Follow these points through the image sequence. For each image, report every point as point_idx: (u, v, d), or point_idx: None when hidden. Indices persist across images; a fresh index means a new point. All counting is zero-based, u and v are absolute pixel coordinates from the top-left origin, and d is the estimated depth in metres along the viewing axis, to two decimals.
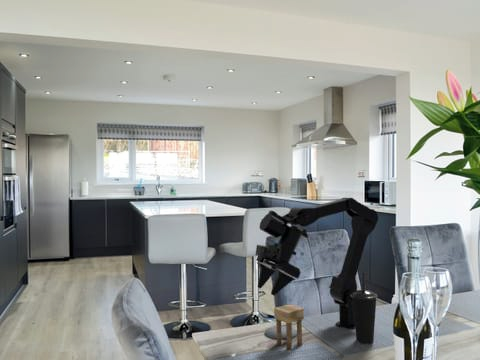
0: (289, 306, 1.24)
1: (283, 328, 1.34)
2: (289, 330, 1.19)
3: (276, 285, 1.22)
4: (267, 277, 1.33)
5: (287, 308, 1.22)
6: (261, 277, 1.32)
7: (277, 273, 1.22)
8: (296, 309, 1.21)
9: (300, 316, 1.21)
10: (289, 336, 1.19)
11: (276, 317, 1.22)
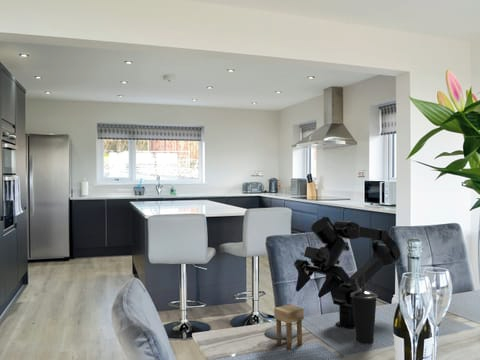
0: (289, 306, 1.24)
1: (283, 328, 1.34)
2: (289, 330, 1.19)
3: (325, 287, 1.24)
4: (304, 282, 1.34)
5: (287, 308, 1.22)
6: (300, 281, 1.32)
7: (328, 276, 1.24)
8: (296, 309, 1.21)
9: (300, 316, 1.21)
10: (289, 336, 1.19)
11: (276, 317, 1.22)
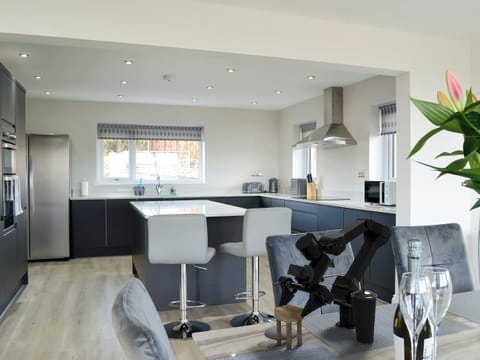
0: (289, 306, 1.24)
1: (283, 328, 1.34)
2: (289, 330, 1.19)
3: (308, 307, 1.19)
4: (288, 300, 1.29)
5: (287, 308, 1.22)
6: (283, 299, 1.28)
7: (311, 295, 1.20)
8: (296, 309, 1.21)
9: (300, 316, 1.21)
10: (289, 336, 1.19)
11: (276, 317, 1.22)
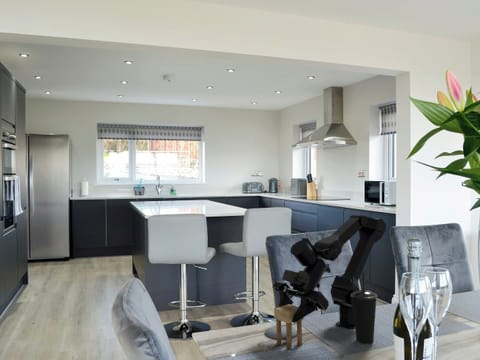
0: (289, 306, 1.24)
1: (283, 328, 1.34)
2: (289, 330, 1.19)
3: (299, 312, 1.19)
4: None
5: (287, 308, 1.22)
6: None
7: (303, 300, 1.20)
8: (296, 309, 1.21)
9: None
10: (289, 336, 1.19)
11: (276, 317, 1.22)
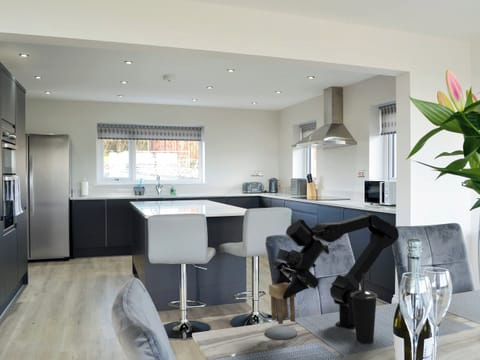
0: (284, 284, 1.30)
1: (283, 328, 1.34)
2: (280, 306, 1.25)
3: (289, 289, 1.25)
4: None
5: (281, 285, 1.28)
6: (277, 283, 1.32)
7: (293, 278, 1.25)
8: None
9: None
10: (280, 311, 1.25)
11: (270, 293, 1.29)
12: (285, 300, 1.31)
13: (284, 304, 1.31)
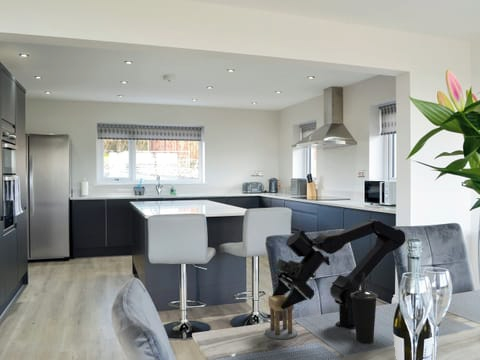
0: (283, 296, 1.33)
1: None
2: (277, 317, 1.28)
3: (288, 300, 1.27)
4: (282, 293, 1.37)
5: (279, 297, 1.32)
6: (276, 291, 1.36)
7: (291, 289, 1.26)
8: None
9: (290, 306, 1.29)
10: (277, 323, 1.28)
11: (269, 305, 1.33)
12: (284, 312, 1.33)
13: (283, 316, 1.33)
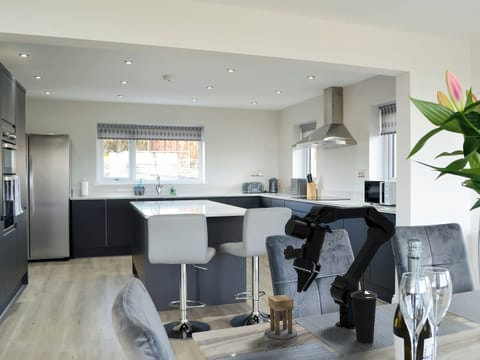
0: (283, 296, 1.33)
1: None
2: (277, 317, 1.28)
3: (298, 282, 1.27)
4: (311, 280, 1.36)
5: (279, 297, 1.32)
6: None
7: None
8: (286, 299, 1.30)
9: (290, 306, 1.29)
10: (277, 323, 1.28)
11: (269, 305, 1.33)
12: (284, 312, 1.33)
13: (283, 316, 1.33)
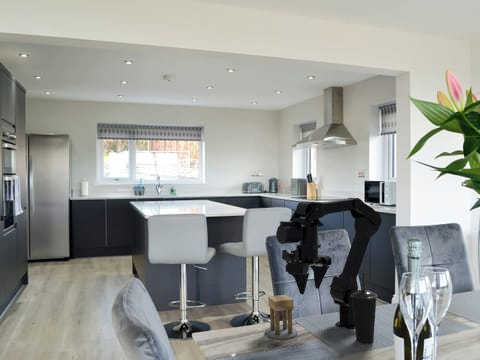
0: (283, 296, 1.33)
1: None
2: (277, 317, 1.28)
3: (298, 285, 1.28)
4: (321, 275, 1.35)
5: (279, 297, 1.32)
6: (315, 278, 1.36)
7: None
8: (286, 299, 1.30)
9: (290, 306, 1.29)
10: (277, 323, 1.28)
11: (269, 305, 1.33)
12: (284, 312, 1.33)
13: (283, 316, 1.33)
